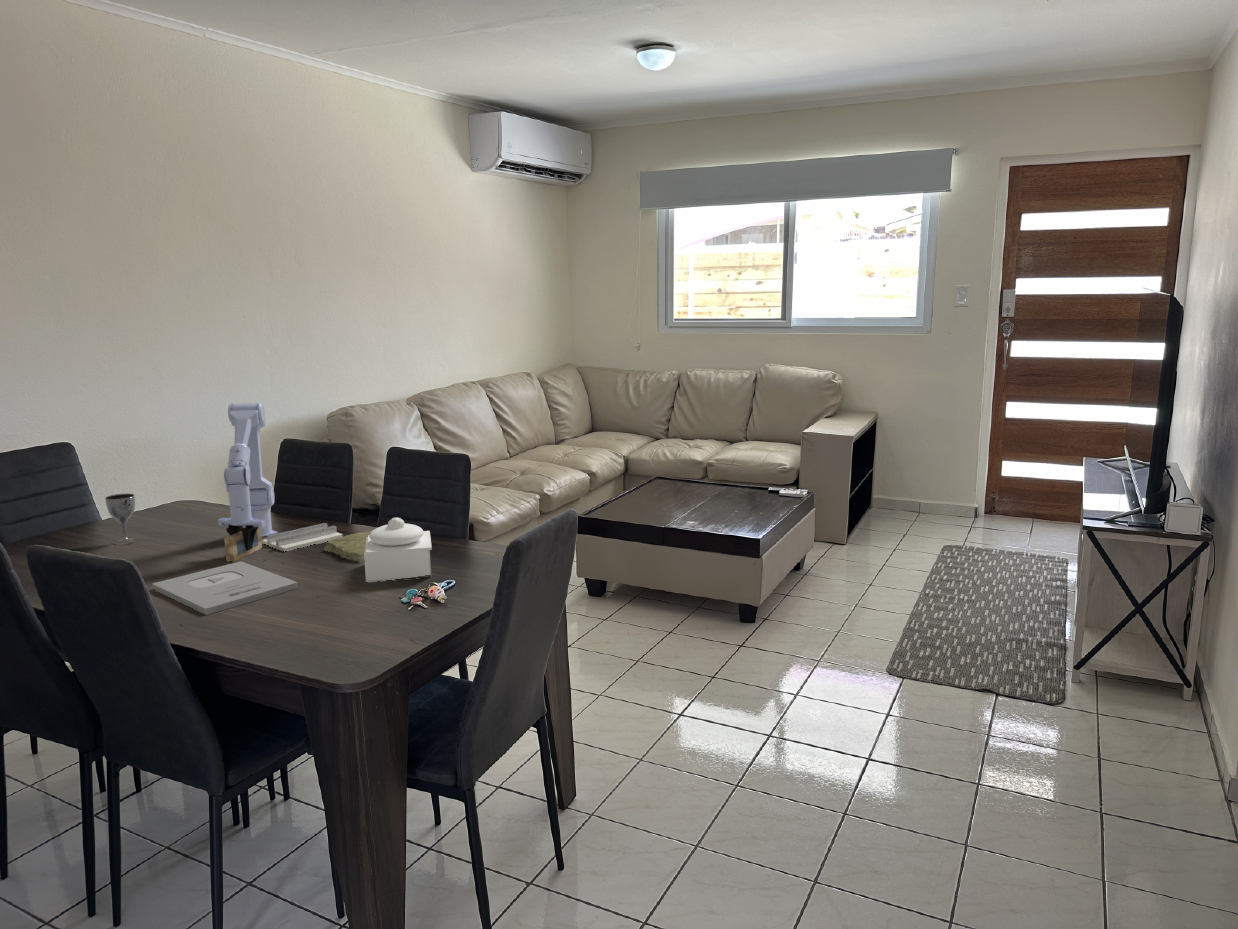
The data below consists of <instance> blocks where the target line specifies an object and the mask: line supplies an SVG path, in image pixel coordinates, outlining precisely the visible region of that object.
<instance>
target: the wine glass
mask: <svg viewBox="0 0 1238 929" xmlns="http://www.w3.org/2000/svg"><path fill="white" fill-rule="evenodd" d="M105 504H106V509H107V511H108V514H109V515H110V516H111V517H112V518H113V519H114V520H115V521H117V522H118V523H119V525H120V526H121V529H122V534H123V535H122V536H123V538H122V539H119V541H133V540H132V539H133V538H128V537H127V533H126V532H127V531H126V528H127V523H128V521H129V520H130V519H131V517H132V516H133V514H134V512H135V508H136V507H135V506H136V498H135V494H134V493H129V492H128V493H117V494H111V495H108V496H105Z"/></svg>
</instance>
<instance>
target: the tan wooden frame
mask: <svg viewBox="0 0 1238 929" xmlns="http://www.w3.org/2000/svg"><path fill="white" fill-rule="evenodd" d="M223 540H224V548H225V549H224V550H225V557H226V558H225V559H226V562H230V561H232V563H236V562H238V561H239V560H241V559H243V558H245V557H247V556H249V555H251V554H253V553H255V552H257V551H259V550H262V549H263V544H262V540H263V539H262V537H261V528H259V527H258V529H257V531H256V534H255V537H254V540H253V546H252V549H250V550H246V548H245V540H244V536H243V534H242V531H240V532H238V533H236V534H233V535H231V536H230V535H229V536H227V537H224V539H223ZM254 551H255V552H254ZM240 558H241V559H240Z"/></svg>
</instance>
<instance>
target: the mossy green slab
mask: <svg viewBox="0 0 1238 929" xmlns="http://www.w3.org/2000/svg"><path fill="white" fill-rule="evenodd" d="M372 531H373V530H368V531H365V532H356V533H351V534H348V535H343V537H341V538H336V539H333V540H331V541H328V542H325V546H324V547H323V549H324V551H325V552H327V551H328V552H327V553H332V552H333V554H335V555H337V556H339V555H340V556H339V557H340V558H342V559H344V558H346V559H345V560H349V561H353V562H355V561H358V562H357V563H359V562H362V563H364V562H363V561H365V560H364V553H365V546H366V537H368V535H370V533H371V532H372Z"/></svg>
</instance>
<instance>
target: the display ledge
mask: <svg viewBox="0 0 1238 929" xmlns="http://www.w3.org/2000/svg"><path fill="white" fill-rule="evenodd" d="M337 527H338V526H336V525H331V526H328V523H326V522H323V523H319V524H318V523H317V524H314V525H309V526H306V527H301V528H297V529H293V530H287V531H282V532H277V534H272V535H268V536H266V538H265V539H262V545H264V544H266V545H265V546H267V545H269V546H268V547H270V548H272V547H273V549H275V548H276V550H278V551H280V552H283V551H284V553H286V552H285V551H287V552H292V551H295V550H298V549H297V548H300V549H303V547H304V548H307V546H308V547H311V546H310V545H312V546H314V545H313V544H316V545H320V544H324V543H326V542H327V541H331V540H333V539H336V538H341V537H344V534H343V533H340V532H338V531H337V530H338V529H337ZM294 549H295V550H294Z"/></svg>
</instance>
